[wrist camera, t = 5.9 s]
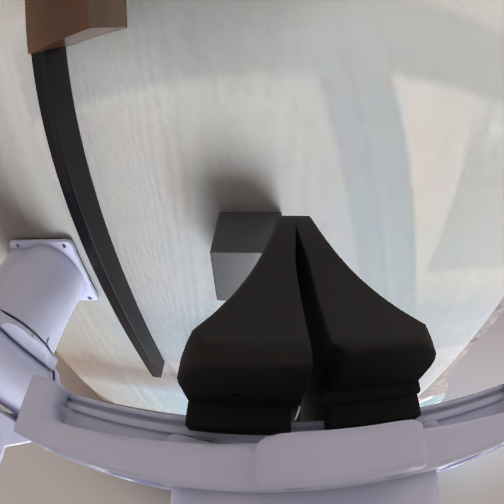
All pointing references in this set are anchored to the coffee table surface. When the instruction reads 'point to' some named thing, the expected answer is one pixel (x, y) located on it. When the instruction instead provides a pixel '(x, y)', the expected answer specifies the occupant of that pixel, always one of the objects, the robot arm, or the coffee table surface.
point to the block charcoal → (238, 248)
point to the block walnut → (70, 21)
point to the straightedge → (86, 198)
